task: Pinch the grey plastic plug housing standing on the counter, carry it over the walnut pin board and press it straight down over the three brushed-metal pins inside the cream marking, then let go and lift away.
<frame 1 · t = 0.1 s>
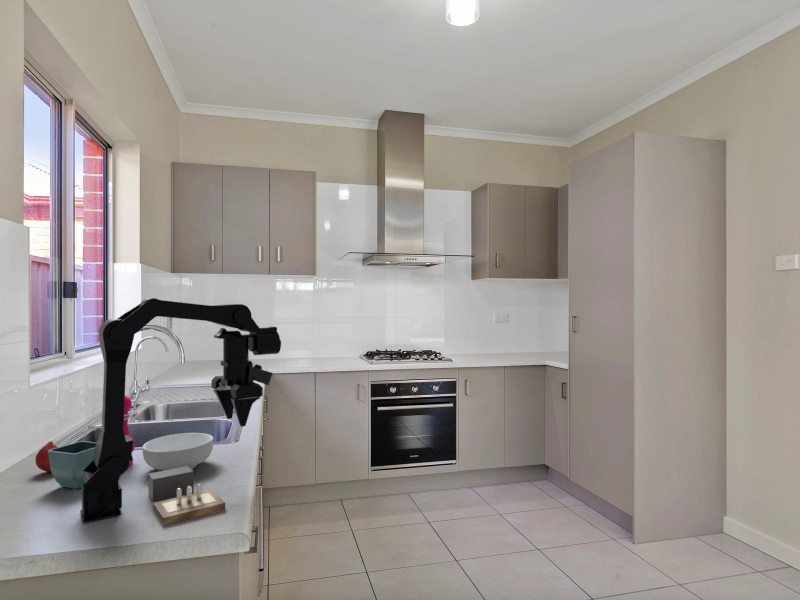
hand: (236, 422, 121), 15 cm above the countertop, fingers open, 9 cm apart
plug housing: (171, 494, 114), on the countertop
cereal bowl: (179, 468, 132), on the countertop
onion: (49, 473, 129), on the countertop
flower pot: (78, 485, 120), on the countertop
pepper mill: (119, 465, 134), on the countertop
pin board: (189, 509, 106), on the countertop
header pins: (189, 509, 106), resting on pin board
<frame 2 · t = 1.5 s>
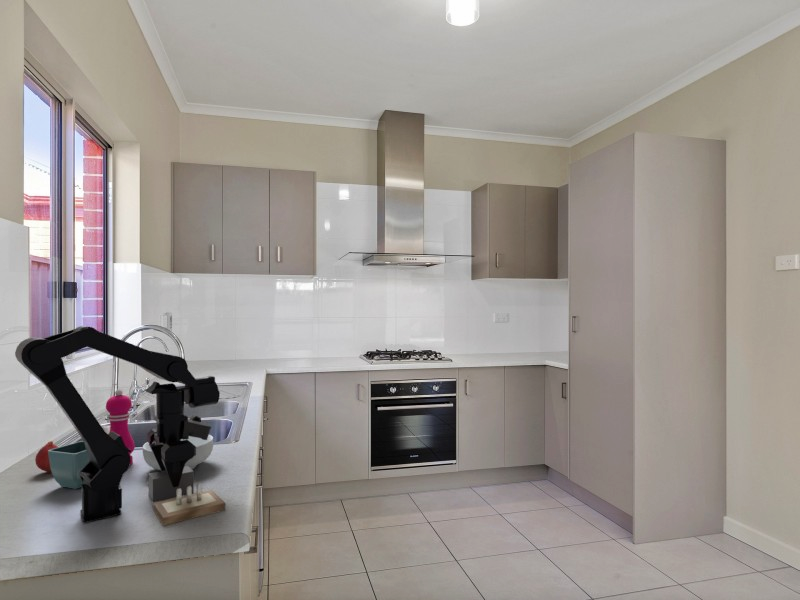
hand: (170, 480, 114), 3 cm above the countertop, fingers open, 9 cm apart
nothing on the countertop moved.
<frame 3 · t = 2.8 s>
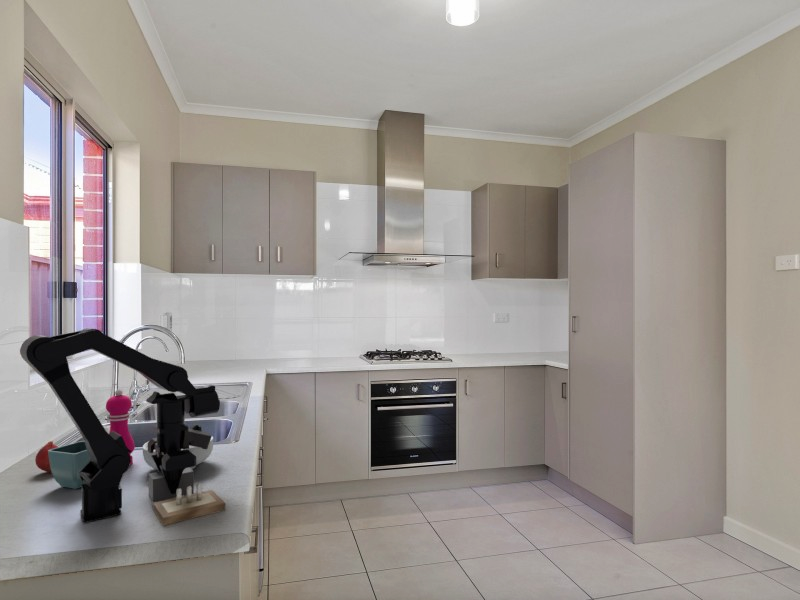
hand: (171, 490, 114), 1 cm above the countertop, fingers closed on plug housing, 4 cm apart
plug housing: (171, 494, 114), on the countertop, touching gripper
everything else where it was.
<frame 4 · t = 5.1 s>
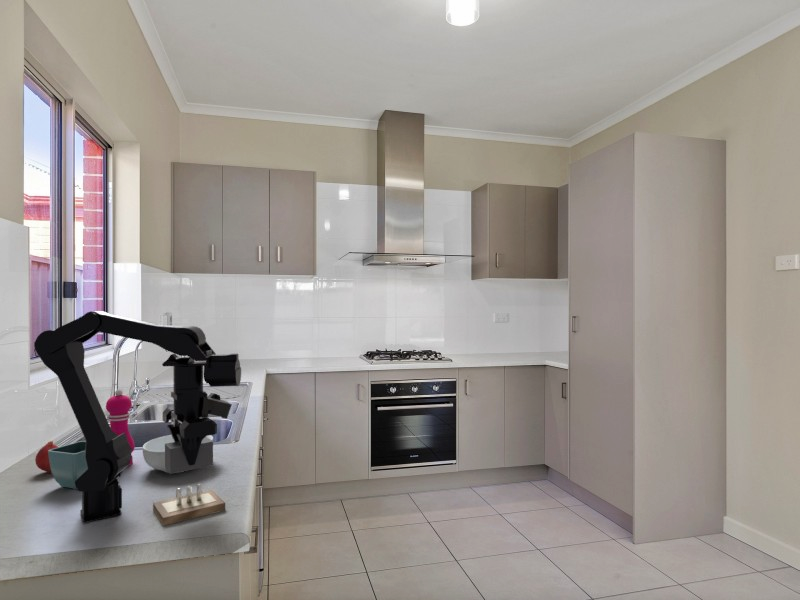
hand: (188, 461, 106), 10 cm above the countertop, fingers closed on plug housing, 4 cm apart
plug housing: (189, 466, 106), point 9 cm above the countertop, touching gripper
everything else where it was.
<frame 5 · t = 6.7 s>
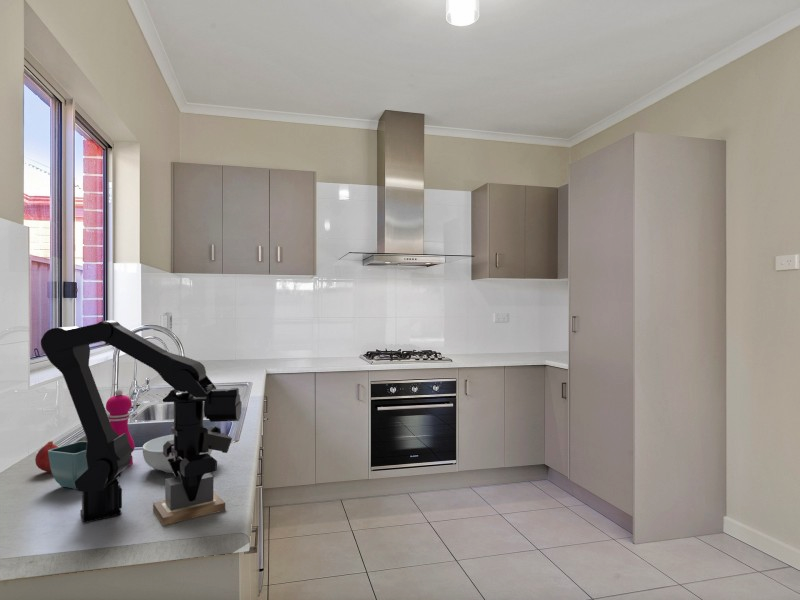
hand: (189, 496, 106), 3 cm above the countertop, fingers closed on plug housing, 4 cm apart
plug housing: (189, 501, 106), point 2 cm above the countertop, touching gripper
everything else where it was.
when the fingers open (3 cm above the countertop, at t = 7.5 s): plug housing stays where it is, resting on pin board.
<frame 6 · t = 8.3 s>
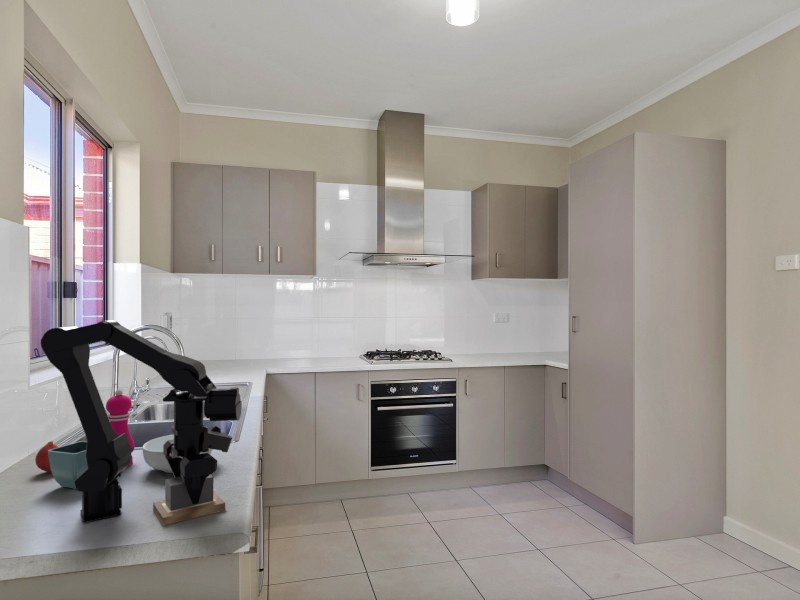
hand: (189, 496, 106), 3 cm above the countertop, fingers open, 9 cm apart
plug housing: (189, 502, 106), point 2 cm above the countertop, touching pin board
everything else where it was.
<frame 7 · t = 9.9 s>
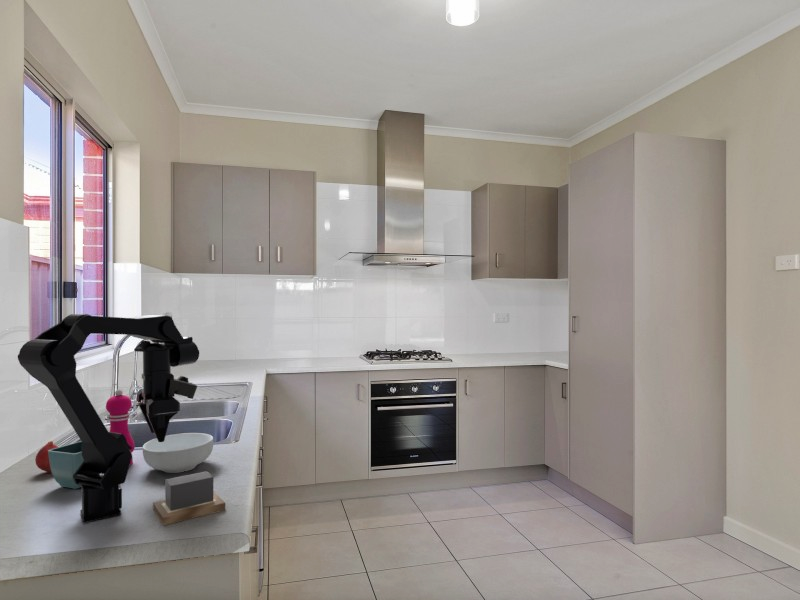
hand: (157, 437, 117), 12 cm above the countertop, fingers open, 9 cm apart
nothing on the countertop moved.
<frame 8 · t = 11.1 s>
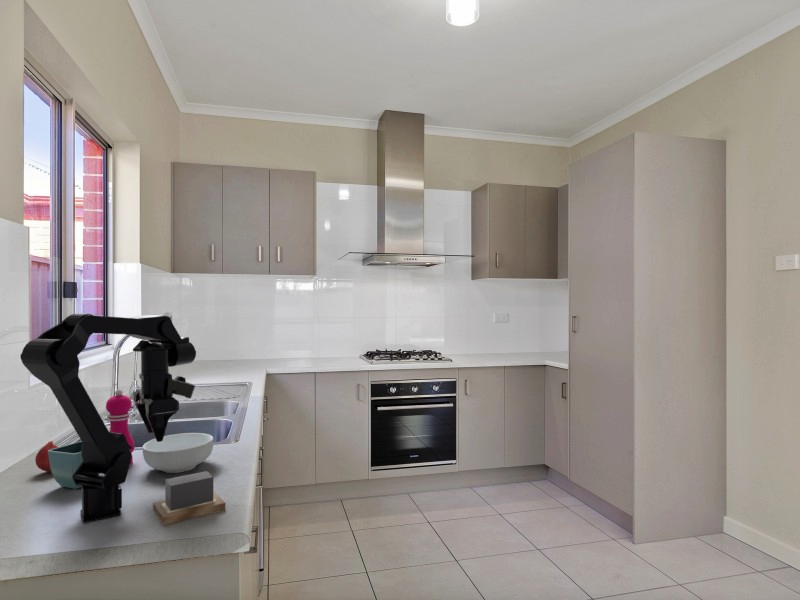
hand: (155, 436, 118), 12 cm above the countertop, fingers open, 9 cm apart
nothing on the countertop moved.
at the end: plug housing 0.1 cm off-centre on the header pins, point 1.6 cm above the header pins's base; plug housing tilted 0°; the gripper is holding nothing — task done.
